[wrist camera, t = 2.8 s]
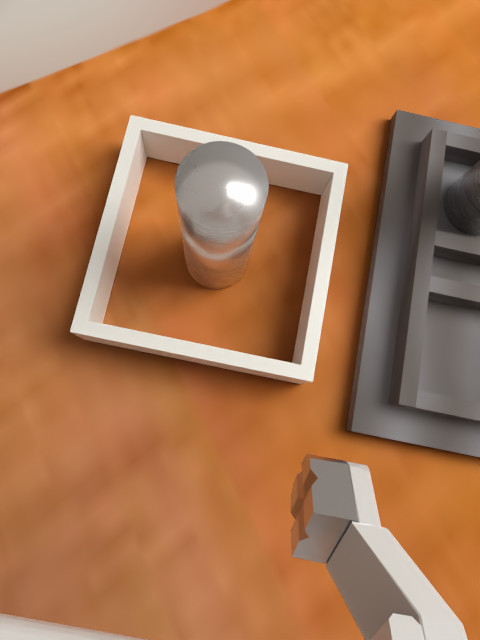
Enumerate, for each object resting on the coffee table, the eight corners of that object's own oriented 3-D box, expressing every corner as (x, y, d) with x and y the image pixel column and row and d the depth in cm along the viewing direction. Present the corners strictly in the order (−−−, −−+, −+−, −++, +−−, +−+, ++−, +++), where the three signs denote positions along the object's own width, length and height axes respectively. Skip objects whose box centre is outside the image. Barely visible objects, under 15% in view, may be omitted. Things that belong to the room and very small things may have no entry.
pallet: (551, 155, 32) (579, 135, 30) (532, 468, 28) (564, 474, 25) (391, 118, 32) (406, 94, 29) (345, 430, 27) (359, 432, 25)
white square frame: (334, 187, 30) (348, 163, 27) (301, 384, 27) (312, 381, 25) (138, 143, 30) (130, 114, 27) (84, 339, 27) (69, 331, 24)
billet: (252, 237, 29) (276, 152, 19) (240, 295, 28) (259, 236, 18) (192, 224, 29) (186, 132, 19) (179, 282, 28) (165, 216, 18)
